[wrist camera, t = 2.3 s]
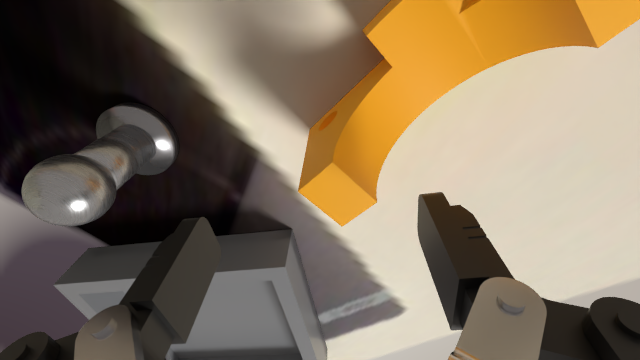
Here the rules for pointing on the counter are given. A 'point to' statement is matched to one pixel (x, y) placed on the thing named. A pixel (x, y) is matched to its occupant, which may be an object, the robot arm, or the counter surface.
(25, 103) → the counter surface
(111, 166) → the door knob
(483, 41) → the pipe clamp
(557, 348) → the robot arm
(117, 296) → the parts bin
